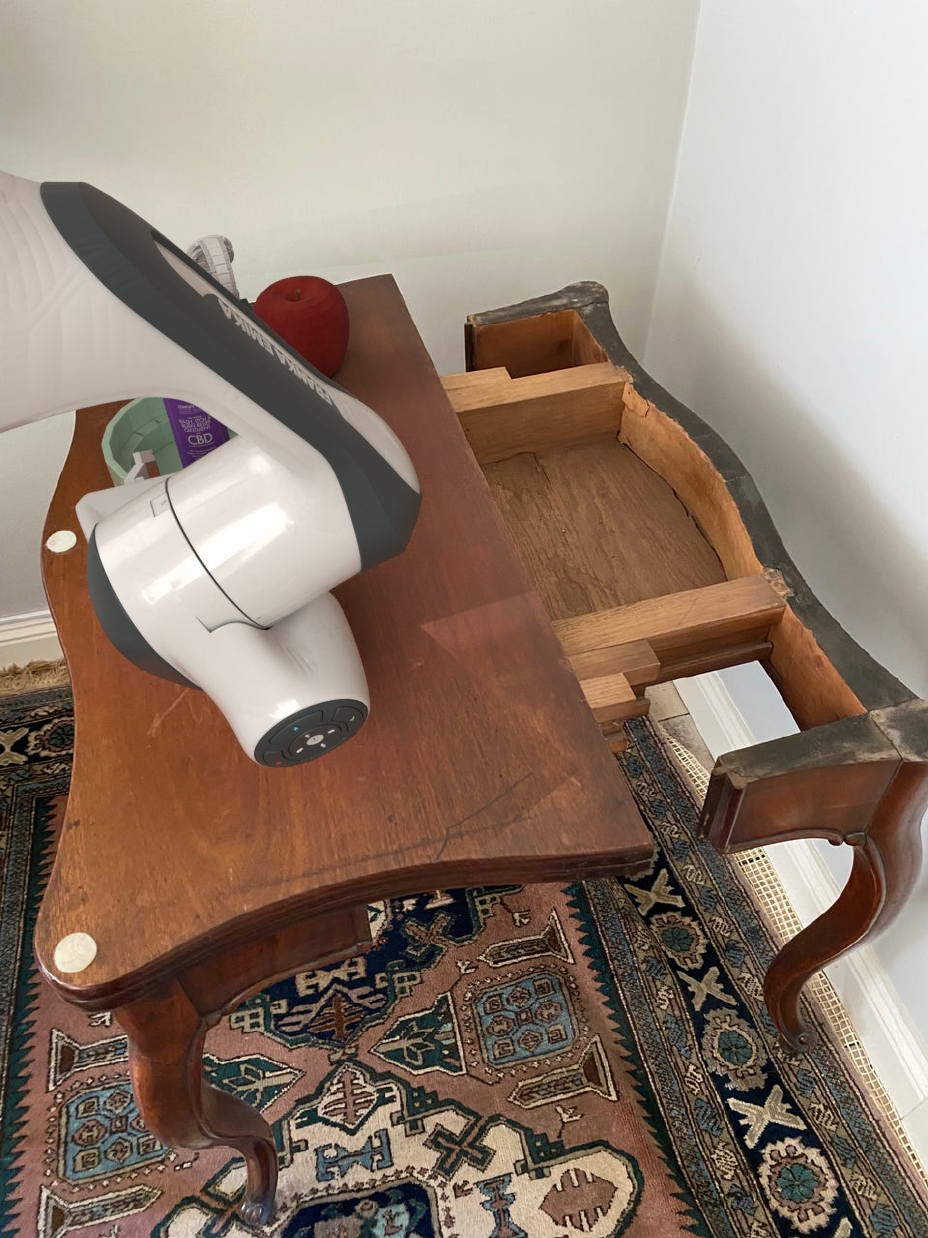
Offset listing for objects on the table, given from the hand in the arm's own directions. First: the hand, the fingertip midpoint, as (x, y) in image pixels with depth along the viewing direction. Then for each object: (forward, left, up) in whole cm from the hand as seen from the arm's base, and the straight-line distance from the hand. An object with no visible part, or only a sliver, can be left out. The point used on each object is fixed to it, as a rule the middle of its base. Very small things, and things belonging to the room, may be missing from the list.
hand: (206, 443), depth 70 cm
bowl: (0, +9, -11) cm, 14 cm away
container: (0, +9, -10) cm, 14 cm away
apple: (+13, +22, -11) cm, 28 cm away
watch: (+7, +32, -11) cm, 35 cm away
